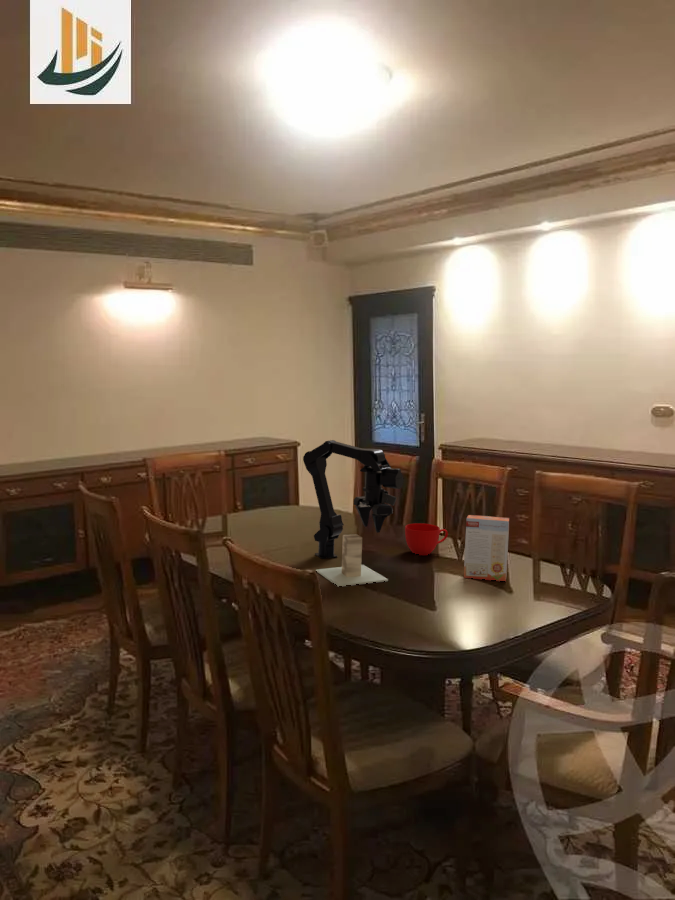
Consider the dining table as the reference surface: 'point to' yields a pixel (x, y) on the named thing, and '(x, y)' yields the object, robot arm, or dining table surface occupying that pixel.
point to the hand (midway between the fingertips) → (371, 529)
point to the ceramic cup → (423, 537)
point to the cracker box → (486, 547)
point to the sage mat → (342, 580)
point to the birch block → (351, 555)
